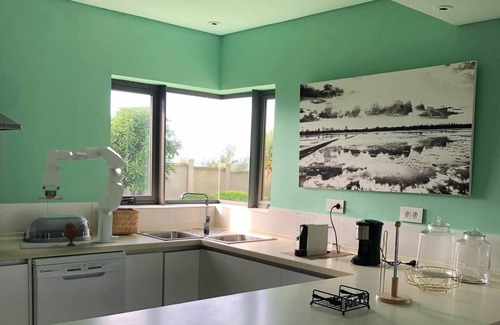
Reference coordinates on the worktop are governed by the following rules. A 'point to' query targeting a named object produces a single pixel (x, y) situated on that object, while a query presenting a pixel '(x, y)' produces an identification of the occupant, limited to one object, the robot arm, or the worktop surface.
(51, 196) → the walnut lid
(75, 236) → the ice cream bowl
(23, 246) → the pale grey flat board
